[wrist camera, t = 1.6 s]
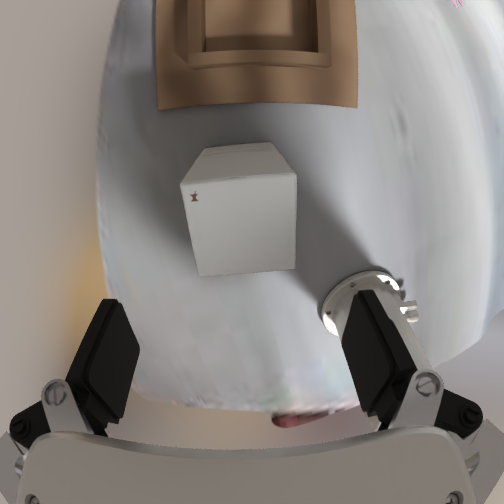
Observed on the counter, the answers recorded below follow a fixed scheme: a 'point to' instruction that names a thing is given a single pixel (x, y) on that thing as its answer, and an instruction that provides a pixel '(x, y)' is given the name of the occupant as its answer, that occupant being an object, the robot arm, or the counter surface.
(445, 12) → the counter surface
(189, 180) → the supplement box
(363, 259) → the counter surface
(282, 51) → the walnut holder
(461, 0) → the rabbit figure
